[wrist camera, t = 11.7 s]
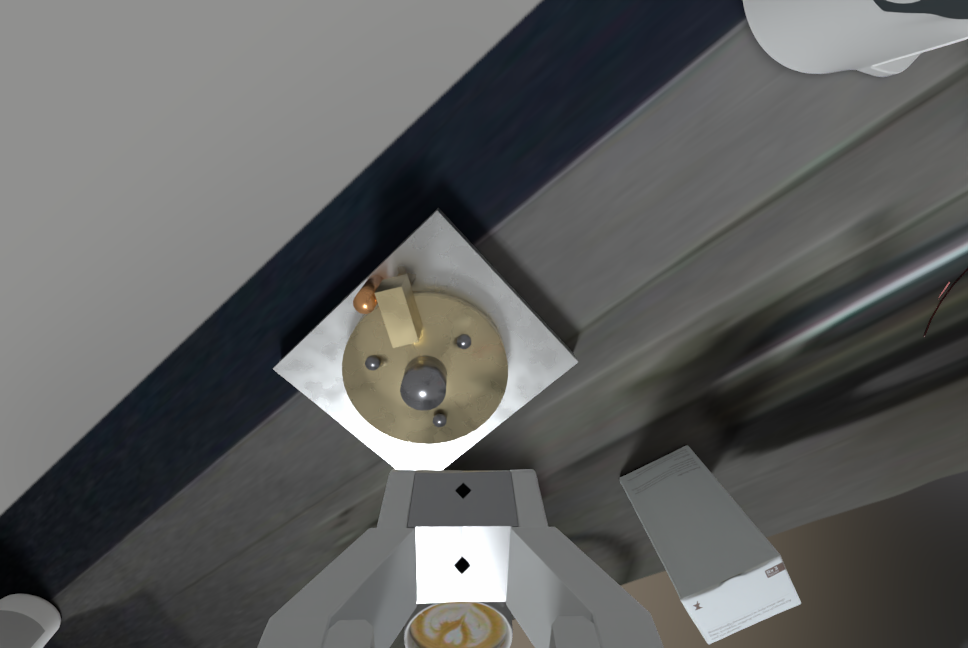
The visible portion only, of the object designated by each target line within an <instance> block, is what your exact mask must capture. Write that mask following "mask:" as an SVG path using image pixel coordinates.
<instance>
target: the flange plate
mask: <svg viewBox="0 0 968 648" xmlns="http://www.w3.org/2000/svg"><path fill="white" fill-rule="evenodd" d="M374 294H375V296H376V299H377V302H378V304H377V305H376V307H375V308H374V310H373V311H372V312H371V313H369V314H365V315H364V316H363V318H362V319H361V320H360V321H359V323H358V324H357V326H356V327H355V329H354V330H353V332H352V334H351V335H350V337H349V340H348V342H347V344H346V347H345V350H344V354H343V360H342V377H343V383H344V386H345V390H346V393H347V395H348V397H349V399H350V401H351V403H352V405H353V406H354V408H355V409H356V411H357V412H358V413H359V414H360V415H361V416H362V418H363V419H365V420H366V421H367V422H368V423H369V424H370V425H371V426H373V427H374V428H376V429H377V430H379V431H380V432H382V433H384V434H386V435H388V436H390V437H393V438H395V439H398V440H401V441H405V442H410V443H416V444H438V443H444V442H449V441H452V440H456V439H459V438H461V437H463V436H466V435H468V434H469V433H471V432H473V431H475V430H476V429H478V428H479V427H480V426H482V425H483V424H484V423H485V422H486V421H487V420H488V419H489V418H490V417H491V416H492V415H493V413H494V412H495V411H496V409H497V408H498V406H499V404H500V403H501V401H502V398H503V396H504V394H505V390H506V386H507V380H508V363H507V357H506V352H505V348H504V345H503V341H502V339H501V337H500V335H499V332H498V330H497V329H496V327H495V326H494V324H493V323H492V322H491V321H490V319H489V318H488V317H487V316H486V315H485V314H484V313H483V312H482V311H480V310H479V309H478V308H477V307H475V306H474V305H472V304H471V303H469V302H468V301H466V300H464V299H462V298H460V297H457V296H454V295H451V294H448V293H444V292H439V291H429V290H421V291H412V288H411V285H410V281H409V278H408V275H407V274H405V275H400V276H396V277H392V278H388V279H384V280H382V281H381V283H380V285H379V286H378V288H377V290H376V291H375V293H374Z"/></svg>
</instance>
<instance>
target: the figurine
mask: <svg viewBox="0 0 968 648" xmlns="http://www.w3.org/2000/svg"><path fill="white" fill-rule="evenodd" d="M967 270H968V268H967V269H966V270H965V271H964V273H963V274H962V275H961V276H960V277H959V278H958V279H957V280H956V281H955V282H954V283H953V285H952V286H951V287H950V289H949V290H948V291H947V293H946V294H945V295H944V297H943V298H942V300H941V301H940V303H939V304H938V306H937V308H936V310H935V311H934V313H933V315H932V317H931V319H930V321H929V323H928V326H927V328H926V331H925V334H924V336H923V337H925V335H926V333H927V330H928V328H929V325H930V323H931V320H932V318H933V316H934V315H935V313H936V311H937V309H938V307H939V306H940V304H941V302H942V301H943V299H944V298H945V297H946V295H947V294H948V293H949V291H950V290H951V288H952V287H953V286H954V284H955V283H956V282H957V281H958V280H959V279H960V278H961V277H962V276H963V275H964V274H965V272H966V271H967ZM949 283H950V282H948V284H947V285H946V287H945V289H946V288H947V286H948V285H949ZM945 289H944V290H945ZM944 290H943V292H944ZM943 292H942V293H943ZM942 293H941V294H942ZM940 296H941V295H940Z"/></svg>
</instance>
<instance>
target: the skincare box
mask: <svg viewBox="0 0 968 648" xmlns="http://www.w3.org/2000/svg"><path fill="white" fill-rule="evenodd" d="M620 482H621V484H622V486H623V488H624V490H625V492H626V494H627V496H628V497H629V499H630V501H631V503H632V505H633V507H634V509H635V511H636V513H637V515H638V517H639V519H640V520H641V522H642V524H643V526H644V528H645V530H646V532H647V534H648V536H649V538H650V540H651V542H652V544H653V546H654V548H655V550H656V552H657V554H658V556H659V557H660V559H661V561H662V563H663V565H664V567H665V569H666V571H667V573H668V575H669V577H670V579H671V581H672V583H673V584H674V587H675V589H676V591H677V593H678V595H679V597H680V600H681V602H682V603H683V605H684V607H685V609H686V610H687V612H688V614H689V615H690V617H691V618H692V620H693V622H694V623H695V625H696V626H697V628H698V629H699V631H700V632H701V634H702V636H703V637H704V639H705V640H706V642H707V643H708V644H711V643H713V642H716V641H718V640H720V639H722V638H724V637H726V636H729V635H731V634H733V633H735V632H737V631H739V630H742V629H744V628H746V627H748V626H751V625H753V624H755V623H757V622H760V621H762V620H764V619H767V618H769V617H771V616H773V615H775V614H778V613H780V612H783V611H785V610H787V609H790V608H792V607H795V606H797V605H800V604H801V602H800V599H799V597H798V595H797V592H796V590H795V588H794V586H793V584H792V582H791V579H790V577H789V575H788V572H787V570H786V567H785V565H784V563H783V560H782V558H781V555H780V554H779V553H778V552H777V550H776V549H775V548H774V547H773V546H772V544H771V543H770V542H769V541H768V540H767V539H766V537H765V536H764V535H763V534H762V533H761V531H760V530H759V529H758V528H757V527H756V526H755V524H754V523H753V522H752V521H751V520H750V518H749V517H748V516H747V515H746V514H745V512H744V511H743V510H742V509H741V508H740V506H739V505H738V504H737V503H736V502H735V500H734V499H733V498H732V497H731V496H730V495H729V493H728V492H727V491H726V490H725V489H724V487H723V486H722V485H721V484H720V483H719V481H718V480H717V479H716V478H715V477H714V476H713V474H712V473H711V472H710V471H709V470H708V468H707V467H706V466H705V465H704V464H703V462H702V461H701V460H700V459H699V458H698V456H697V455H696V454H695V453H694V452H693V451H692V449H691V448H690V447H689V446H688V445H686V446H684V447H682V448H680V449H678V450H676V451H674V452H672V453H670V454H668V455H666V456H664V457H662V458H659V459H657V460H655V461H653V462H651V463H649V464H647V465H645V466H643V467H641V468H639V469H637V470H635V471H633V472H631V473H629V474H627V475H624V476H622V477H620Z"/></svg>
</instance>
